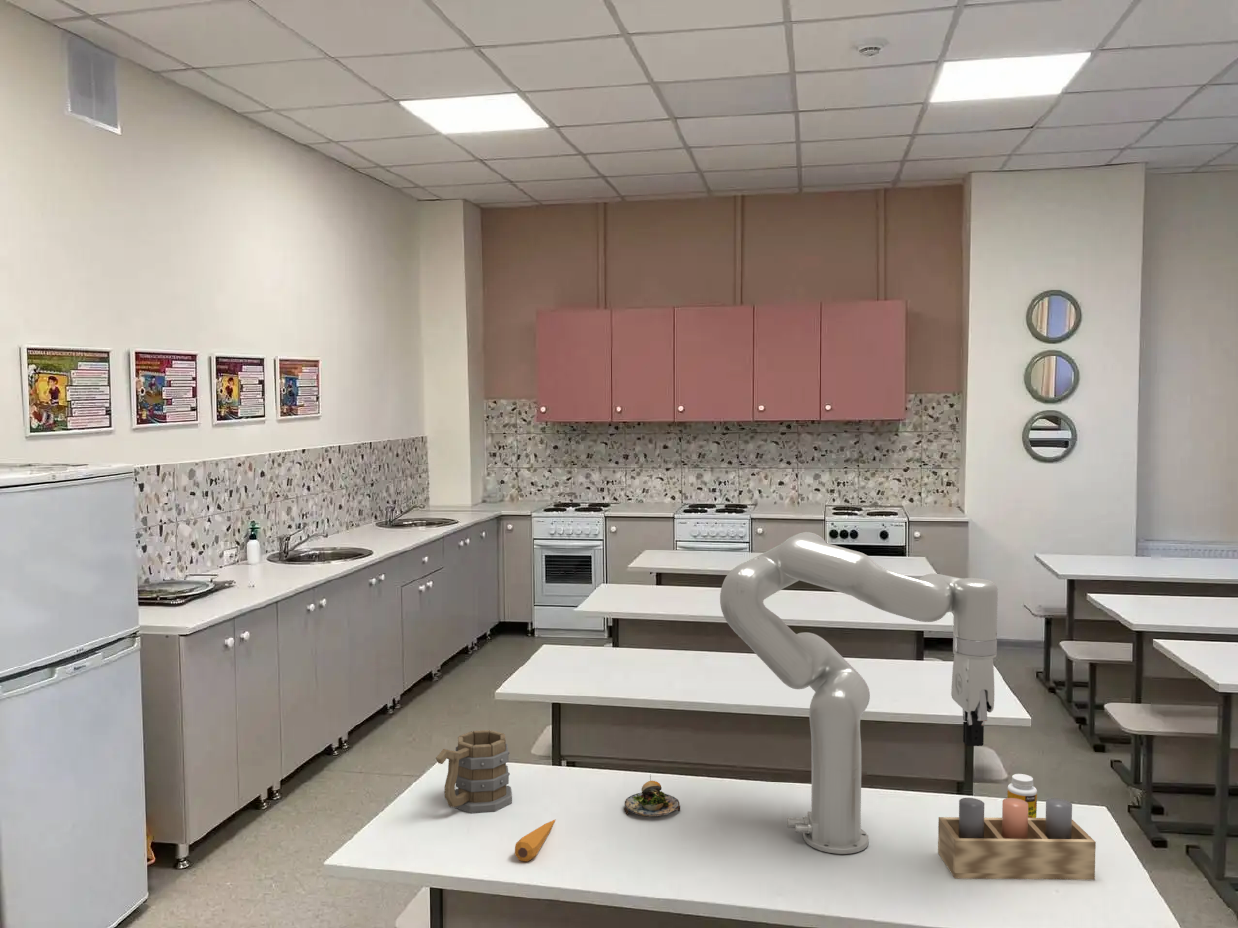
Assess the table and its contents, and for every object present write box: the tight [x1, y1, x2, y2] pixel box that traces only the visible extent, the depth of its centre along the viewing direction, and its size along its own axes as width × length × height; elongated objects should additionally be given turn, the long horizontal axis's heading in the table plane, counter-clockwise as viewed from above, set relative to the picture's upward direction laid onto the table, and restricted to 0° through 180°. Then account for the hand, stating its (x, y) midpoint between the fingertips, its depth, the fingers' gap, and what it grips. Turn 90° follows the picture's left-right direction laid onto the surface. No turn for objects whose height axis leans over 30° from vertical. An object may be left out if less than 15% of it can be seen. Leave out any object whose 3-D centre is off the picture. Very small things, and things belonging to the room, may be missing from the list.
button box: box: [937, 816, 1097, 881], centre depth 178 cm, size 25×10×7 cm, turn 89°
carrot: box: [514, 819, 556, 862], centre depth 190 cm, size 20×4×4 cm, turn 166°
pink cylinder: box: [1001, 798, 1028, 839], centre depth 178 cm, size 4×4×7 cm
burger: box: [623, 775, 681, 817], centre depth 204 cm, size 12×12×8 cm
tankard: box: [435, 729, 513, 814], centre depth 205 cm, size 20×13×15 cm, turn 144°
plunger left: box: [958, 797, 985, 839], centre depth 178 cm, size 4×4×7 cm
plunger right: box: [1045, 797, 1073, 839], centre depth 177 cm, size 4×4×7 cm
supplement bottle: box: [1007, 773, 1038, 818], centre depth 195 cm, size 6×6×10 cm
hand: (973, 744), depth 177 cm, fingers closed
